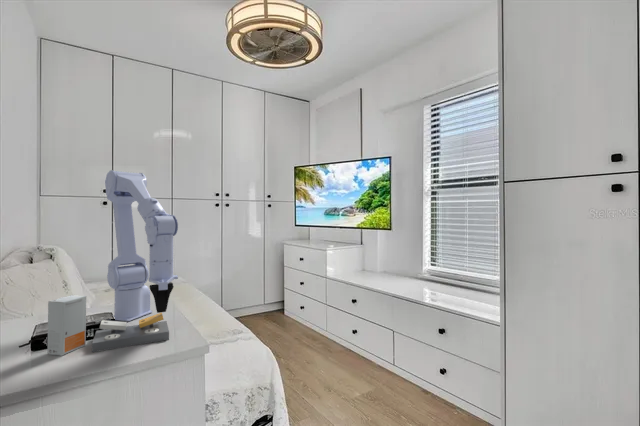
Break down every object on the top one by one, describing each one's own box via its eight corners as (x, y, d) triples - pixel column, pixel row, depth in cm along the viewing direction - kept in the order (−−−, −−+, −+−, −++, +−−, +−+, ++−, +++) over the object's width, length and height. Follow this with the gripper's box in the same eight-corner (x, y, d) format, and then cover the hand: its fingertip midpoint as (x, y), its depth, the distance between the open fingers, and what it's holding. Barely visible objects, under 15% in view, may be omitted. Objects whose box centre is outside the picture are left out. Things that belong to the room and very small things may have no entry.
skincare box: (62, 356, 73) (62, 302, 73) (46, 354, 74) (46, 301, 74) (87, 345, 79) (87, 295, 79) (72, 344, 80) (72, 294, 80)
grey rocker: (99, 328, 80) (100, 324, 80) (100, 324, 83) (101, 319, 83) (125, 330, 82) (126, 325, 83) (125, 326, 85) (127, 321, 86)
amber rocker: (139, 328, 84) (138, 324, 84) (139, 324, 87) (138, 320, 87) (163, 319, 87) (162, 315, 86) (162, 315, 90) (161, 312, 89)
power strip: (91, 352, 75) (91, 341, 75) (96, 338, 83) (96, 328, 83) (169, 339, 83) (169, 329, 83) (166, 328, 91) (166, 318, 91)
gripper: (180, 263, 83) (180, 317, 83) (175, 256, 96) (175, 302, 96) (149, 265, 80) (149, 321, 80) (147, 257, 93) (147, 306, 93)
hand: (161, 311), depth 88 cm, fingers closed
